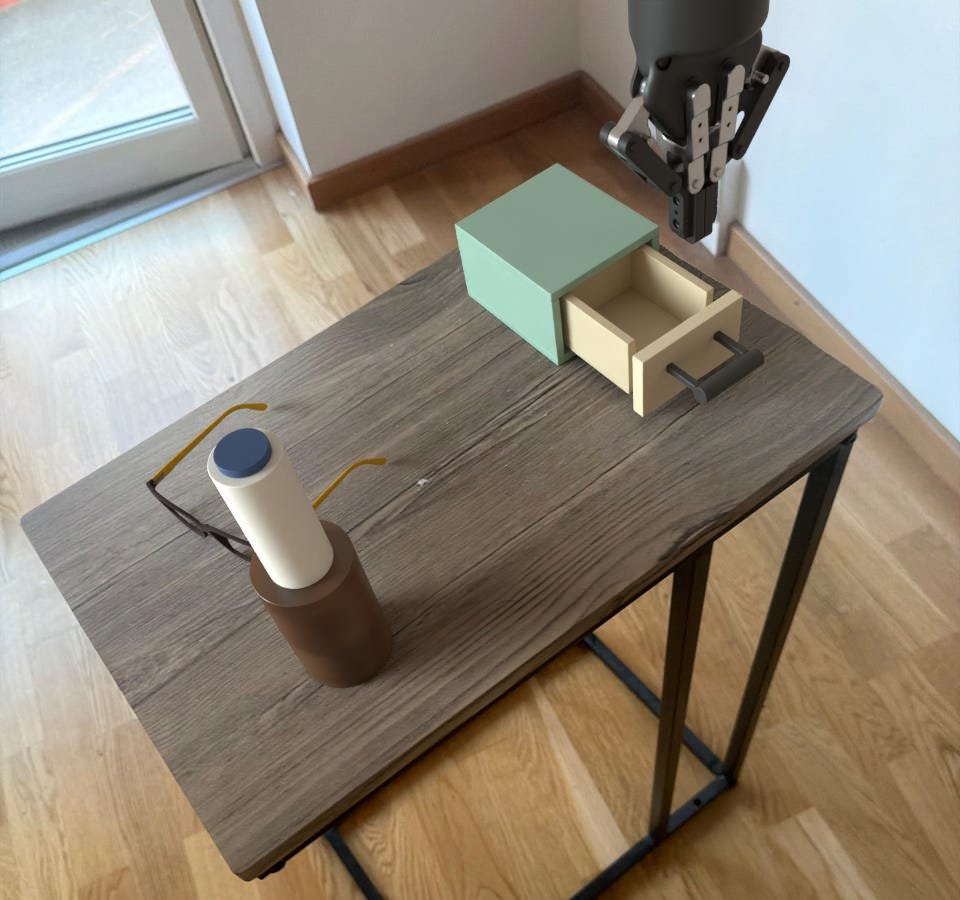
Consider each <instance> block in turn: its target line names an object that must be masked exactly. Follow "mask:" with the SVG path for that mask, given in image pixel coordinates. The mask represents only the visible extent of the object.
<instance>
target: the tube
mask: <svg viewBox="0 0 960 900" xmlns="http://www.w3.org/2000/svg"><path fill="white" fill-rule="evenodd" d="M206 467H207V468H206V469H207V473H208V475H209V477H210V479H211V480H212V482H213V484H214V486H215V487H216V489H217V490H218V492H219V494H220V495H221V497H222V499H223V501H224V502H225V504H226V505H227V507H228V509H229V510H230V512H231V514H232V516H233V518H234V519H235V521H236V522H237V524H238V525H239V527H240V529H241V531H242V532H243V534H244V536H245V537H246V539H247V541H249V542H250V544H251V545H252V547H253V548H252V549H253V550H254V552H256V554H257V555H258V557H259V559H260V560H261V562H262V564H263V565H264V567H265V569H266V570H267V572H268V574H269V575H270V577H271V579H272V580H273V581H274V582H275V583H276V584H278V585H280V586H282V587H285V588H289V589H299V588H304V587H307V586H310V585H312V584H314V583H316V582H317V581H319V580H320V579H321V578H323V577H324V576H325V574H326V573H327V572H328V571H329V569H330V567H331V565H332V562H333V549H332V546H331V544H330V542H329V540H328V538H327V536H326V534H325V532H324V530H323V527H322V525H321V523H320V521H319V519H320V518H319V517H318V515H317V513H316V511H315V510H314V509H313V507H312V502H311V500H310V498H309V497H308V494H307V492H306V490H305V488H304V486H303V484H302V482H301V479H300V477H299V476H298V473H297V471H296V469H295V467H294V465H293V463H292V461H291V458H290V457H289V454H288V453H287V450H286V448H285V445H284V444H283V442H282V440H281V438H280V437H279V436H278V435H277V434H276V433H274V432H273V431H271V430H270V429H265V428H261V427H245V428H239V429H236V430H233V431H230V432H229V433H227V434H226V435H225V436H223V437H222V438H221V439H220V440H219V441H217V443H216V445H215V446H214V447H213V448H212V450H211V452H210V454H209V456H208V458H207V465H206Z"/></svg>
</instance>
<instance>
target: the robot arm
mask: <svg viewBox="0 0 960 900" xmlns="http://www.w3.org/2000/svg"><path fill="white" fill-rule="evenodd" d="M770 1H771V0H627V19H628V22H627V23H628V24H627V25H628V32H629V36H630V38H631V42H632V44H633V48H634V52H635V59H636V60H635V65H634V66H635V67H634V69H633V74H632V76H631V80H630V84H629V90H630V91H629V92H630V97H631V101H630V103H629V105H628V106H627V107H626V109H625V110H624V112H623V114H622V115H621V117H620V119H619V120H618V122H617V123H616V122H615V121H612V120H609V121H606V122H605V123H604V124H603V125H602V127H601V128H600V131H599V140H600V143H602V144H603V145H604V146H605V147H606V148H607V149H608V150H609V151H611V153H612V154H614V155H615V156H616V157H617V159H619V160H620V161H621V162H622V163H623V164H624V165H625V166H626V167H627V168H628V169H629V170H630V171H631V172H632V173H633V174H634V175H636V177H638V178H639V179H640V180H641V181H642V182H644V183H645V184H646V185H648V186H650V187H651V188H653V189H655V190H656V191H659V192H660V193H662V194H663V195H664V196H667V197H668V224H669V229H670V231H671V232H672V233H674V234H676V235H677V237H678V238H681V239H682V240H684V241H685V242H687V243H689V244H690V245H694V244H697V243H698V242H700V241H701V240H703V239H705V238H707V237H708V236H710V235H712V234H713V231H714V230H713V228H714V224H715V222H716V219H717V215H718V205H719V203H718V200H719V182H720V180H721V179H722V178H723V176H724V175H725V172H726V166H727V165H728V163H729V162H731V161H732V159H733V160H734V161H739V160H741V159H742V158H743V157H745V155H746V153H747V151H748V150H749V148H750V146H751V143H752V142H753V139H754V138H755V135H756V134H757V132H758V130H759V127H760V126H761V123H762V122H763V120H764V118H765V116H766V114H767V112H768V111H769V108H770V106H771V104H772V102H773V100H774V98H775V96H776V95H777V92H778V90H779V88H780V86H781V84H782V82H783V81H784V78H785V76H786V74H787V73H788V70H789V69H790V66H791V58H790V56H789V55H788V54H786V53H783V52H781V51H780V50H778V49H775V48H774V47H771V46H769V45H764V44H763V30H762V28H763V27H764V25H765V23H766V21H767V19H768V16H769V11H770ZM742 112H743V118H742V119H741V121H740V123H739V126H738V128H737V122H738V121H737V119H738V115H739V114H740V113H742ZM649 121H650V123H651V124H652V125H653V126H654V128H655V138H656V143H657V145H658V147H659V148H660V149H661V154H662V157H661V156H660V155H659V154H658V153H657V152H656V151H655V150H654V149H653V148H652V146H653V145H654V143H655V138H654V137H653V136H652V130H651V128H650V127H649Z"/></svg>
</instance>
